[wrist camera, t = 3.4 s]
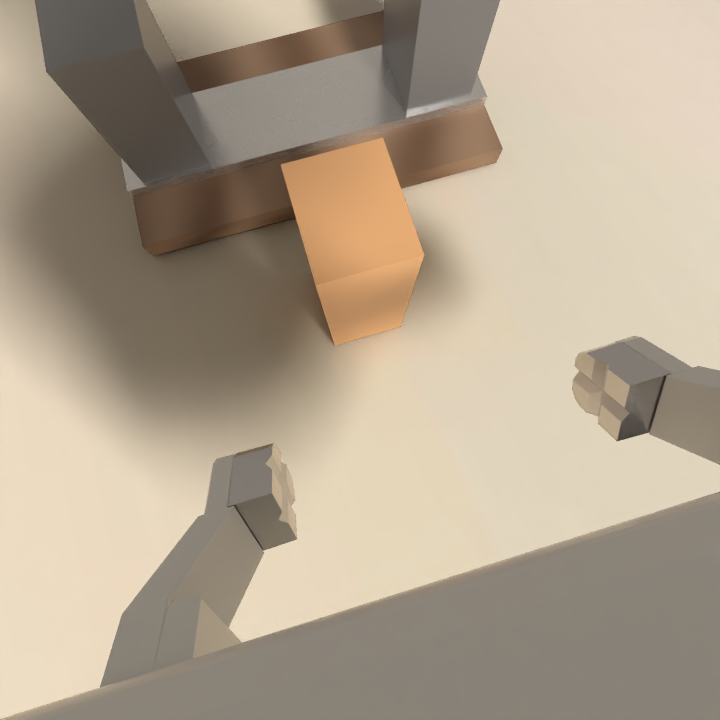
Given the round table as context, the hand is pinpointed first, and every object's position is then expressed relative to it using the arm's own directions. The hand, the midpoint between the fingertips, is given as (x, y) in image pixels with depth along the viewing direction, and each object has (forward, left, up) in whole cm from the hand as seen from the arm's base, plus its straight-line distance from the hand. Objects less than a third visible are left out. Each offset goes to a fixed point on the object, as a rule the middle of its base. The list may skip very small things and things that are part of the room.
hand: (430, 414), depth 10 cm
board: (+10, +17, -11) cm, 23 cm away
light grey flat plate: (+10, +17, -10) cm, 22 cm away
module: (+4, +7, -11) cm, 14 cm away
